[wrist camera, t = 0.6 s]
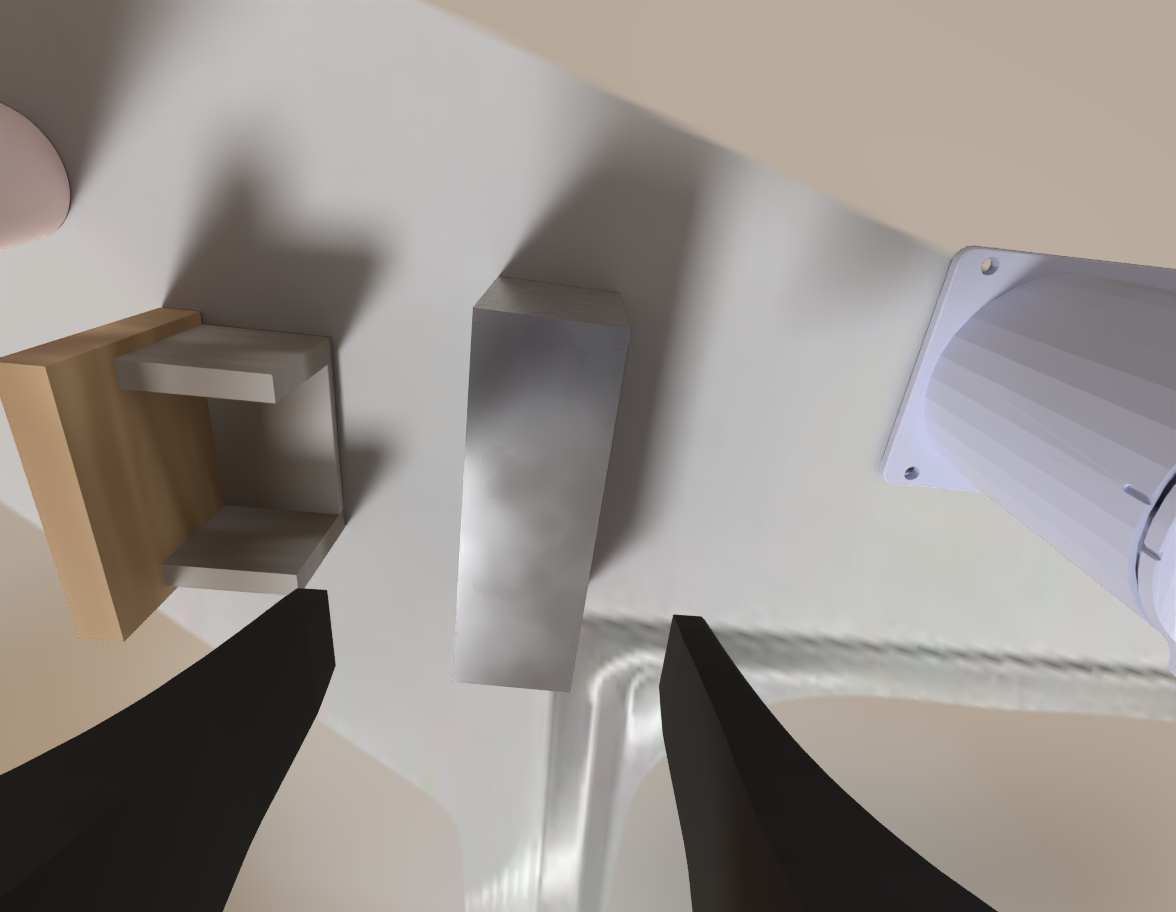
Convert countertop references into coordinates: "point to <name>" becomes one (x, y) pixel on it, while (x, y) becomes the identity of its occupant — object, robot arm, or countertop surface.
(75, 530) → the bracket
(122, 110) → the countertop surface
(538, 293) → the grey rectangular block
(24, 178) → the smoothie
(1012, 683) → the countertop surface
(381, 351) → the countertop surface
